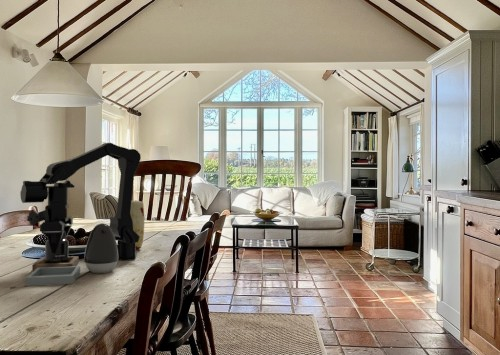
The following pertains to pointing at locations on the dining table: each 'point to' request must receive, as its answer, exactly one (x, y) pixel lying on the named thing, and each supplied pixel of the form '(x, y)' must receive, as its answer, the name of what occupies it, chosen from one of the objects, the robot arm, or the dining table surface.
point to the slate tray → (53, 275)
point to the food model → (138, 220)
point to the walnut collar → (41, 263)
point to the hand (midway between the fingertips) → (57, 250)
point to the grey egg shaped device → (101, 250)
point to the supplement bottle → (61, 252)
